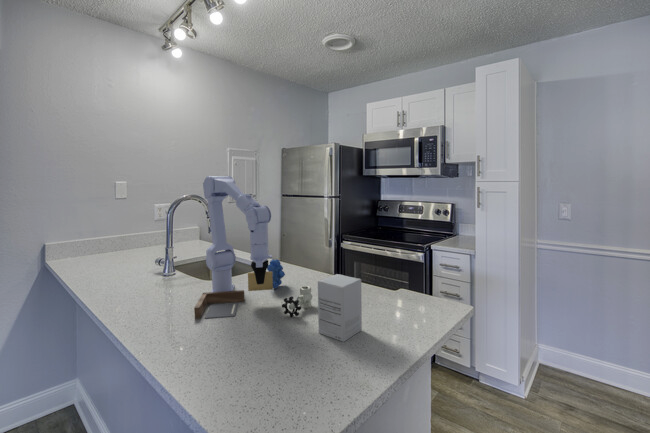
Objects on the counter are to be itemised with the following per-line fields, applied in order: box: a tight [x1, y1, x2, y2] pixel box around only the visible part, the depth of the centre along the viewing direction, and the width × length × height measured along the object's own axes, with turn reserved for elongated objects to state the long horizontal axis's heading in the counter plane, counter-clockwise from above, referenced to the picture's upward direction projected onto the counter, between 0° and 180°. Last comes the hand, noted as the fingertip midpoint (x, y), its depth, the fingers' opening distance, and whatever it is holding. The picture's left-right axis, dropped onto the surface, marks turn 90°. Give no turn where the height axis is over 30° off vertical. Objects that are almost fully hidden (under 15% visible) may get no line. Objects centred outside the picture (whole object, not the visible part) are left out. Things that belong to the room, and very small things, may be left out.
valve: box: [281, 285, 313, 318], centre depth 106 cm, size 7×7×12 cm
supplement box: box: [317, 273, 363, 343], centre depth 91 cm, size 9×9×15 cm
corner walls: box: [193, 289, 246, 320], centre depth 109 cm, size 14×14×4 cm
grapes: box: [266, 258, 286, 289], centre depth 128 cm, size 12×7×12 cm, turn 162°
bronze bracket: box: [247, 270, 274, 292], centre depth 111 cm, size 8×5×6 cm, turn 100°
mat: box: [204, 302, 239, 320], centre depth 107 cm, size 11×9×1 cm
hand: (260, 283), depth 109 cm, fingers closed on bronze bracket
